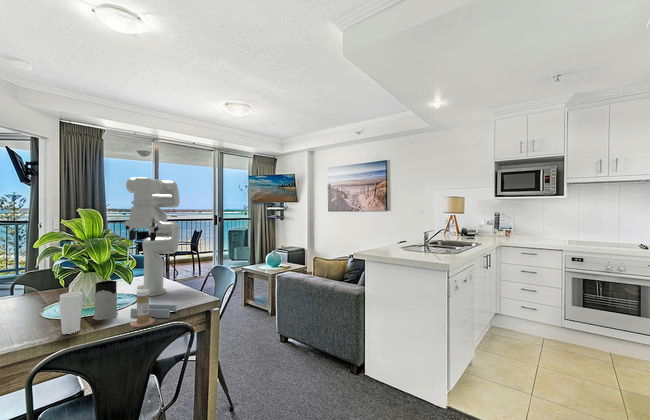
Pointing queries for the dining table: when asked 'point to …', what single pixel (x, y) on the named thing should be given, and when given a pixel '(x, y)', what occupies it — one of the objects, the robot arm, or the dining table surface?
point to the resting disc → (135, 324)
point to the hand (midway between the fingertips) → (142, 240)
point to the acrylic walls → (157, 310)
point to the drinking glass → (71, 311)
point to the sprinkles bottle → (142, 305)
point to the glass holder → (105, 300)
